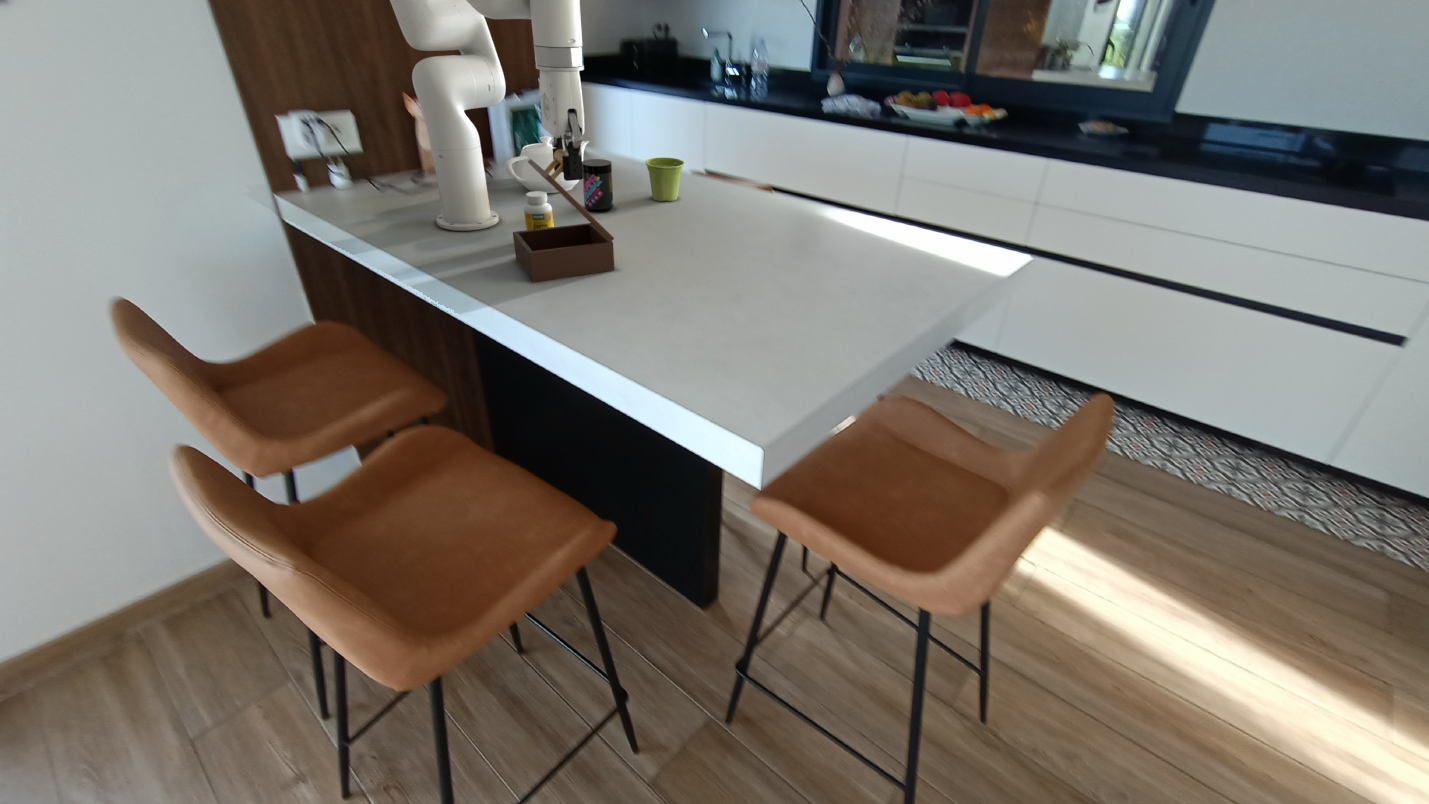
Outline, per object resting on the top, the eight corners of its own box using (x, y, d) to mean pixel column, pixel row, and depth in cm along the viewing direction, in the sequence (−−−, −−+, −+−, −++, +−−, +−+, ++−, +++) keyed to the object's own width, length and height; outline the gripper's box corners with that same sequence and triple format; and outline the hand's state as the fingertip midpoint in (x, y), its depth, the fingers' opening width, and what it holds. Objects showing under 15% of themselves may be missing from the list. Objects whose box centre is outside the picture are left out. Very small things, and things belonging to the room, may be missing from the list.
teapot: (530, 203, 154) (523, 148, 148) (492, 190, 163) (484, 137, 156) (610, 185, 170) (608, 135, 164) (572, 173, 179) (568, 125, 172)
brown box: (532, 282, 115) (529, 253, 112) (516, 259, 124) (512, 231, 121) (614, 270, 121) (613, 242, 118) (593, 249, 130) (591, 222, 127)
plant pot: (691, 197, 163) (692, 161, 159) (669, 206, 157) (669, 168, 152) (661, 191, 167) (660, 155, 163) (638, 199, 161) (637, 162, 156)
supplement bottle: (549, 236, 136) (544, 188, 130) (559, 243, 132) (555, 195, 127) (524, 240, 133) (518, 192, 128) (533, 248, 129) (527, 199, 124)
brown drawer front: (546, 178, 107) (570, 151, 107) (527, 161, 116) (549, 137, 116) (611, 241, 118) (633, 217, 118) (589, 221, 127) (610, 199, 127)
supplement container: (582, 205, 154) (578, 159, 149) (610, 204, 156) (608, 158, 151) (587, 214, 149) (584, 166, 143) (616, 212, 151) (614, 165, 145)
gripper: (522, 53, 110) (534, 166, 120) (550, 65, 97) (561, 190, 107) (566, 53, 113) (575, 163, 123) (599, 64, 100) (605, 186, 110)
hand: (568, 174), depth 115 cm, fingers closed on brown drawer front, 5 cm apart
